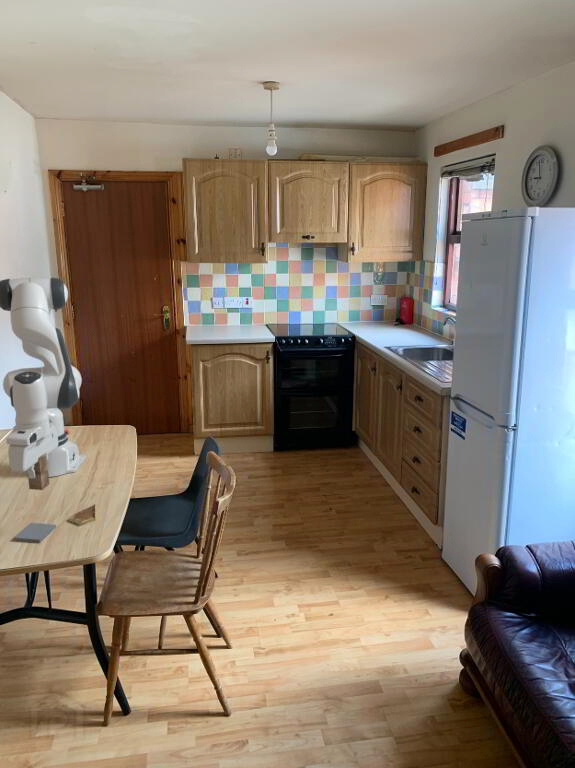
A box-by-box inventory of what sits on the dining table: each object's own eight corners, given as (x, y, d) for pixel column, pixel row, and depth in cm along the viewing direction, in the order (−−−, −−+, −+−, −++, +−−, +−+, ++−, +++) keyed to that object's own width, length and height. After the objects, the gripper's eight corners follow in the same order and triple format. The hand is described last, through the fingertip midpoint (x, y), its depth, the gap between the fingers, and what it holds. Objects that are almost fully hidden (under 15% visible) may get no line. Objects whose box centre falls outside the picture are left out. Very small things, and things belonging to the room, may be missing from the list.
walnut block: (36, 483, 174) (33, 451, 171) (49, 484, 174) (46, 452, 171) (29, 489, 170) (25, 457, 168) (42, 490, 170) (39, 458, 167)
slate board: (30, 522, 175) (13, 537, 166) (56, 524, 174) (39, 539, 165) (31, 527, 175) (13, 542, 167) (56, 529, 174) (40, 544, 166)
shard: (95, 508, 188) (94, 503, 187) (112, 513, 184) (111, 508, 183) (67, 522, 179) (66, 516, 178) (84, 528, 175) (84, 522, 174)
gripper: (41, 416, 177) (46, 459, 181) (2, 440, 158) (7, 487, 162) (61, 418, 177) (65, 460, 180) (24, 442, 157) (29, 489, 161)
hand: (38, 473), depth 171 cm, fingers closed on walnut block, 4 cm apart
